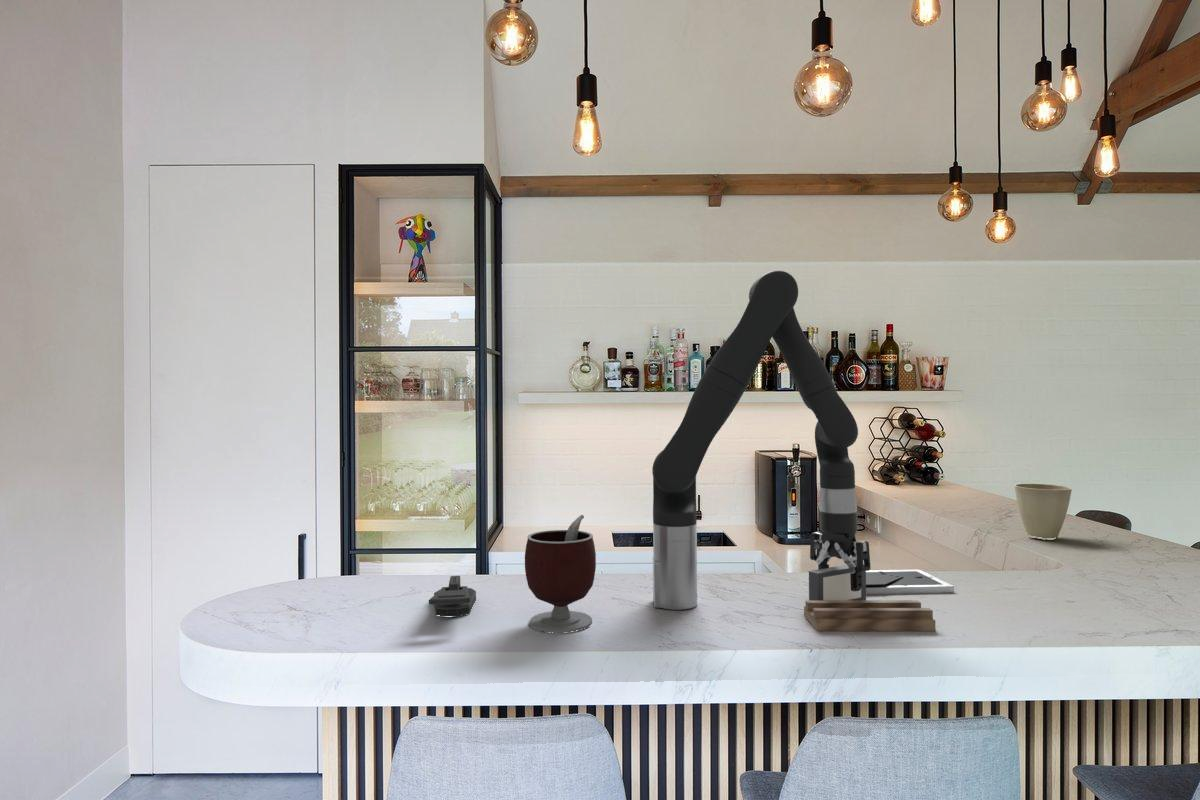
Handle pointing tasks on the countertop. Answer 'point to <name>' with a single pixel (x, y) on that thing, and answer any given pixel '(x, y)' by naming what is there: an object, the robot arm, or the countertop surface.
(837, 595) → the grey photo frame
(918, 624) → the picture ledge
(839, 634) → the countertop surface
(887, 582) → the picture frame
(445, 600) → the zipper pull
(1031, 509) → the plant pot
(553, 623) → the mate gourd
